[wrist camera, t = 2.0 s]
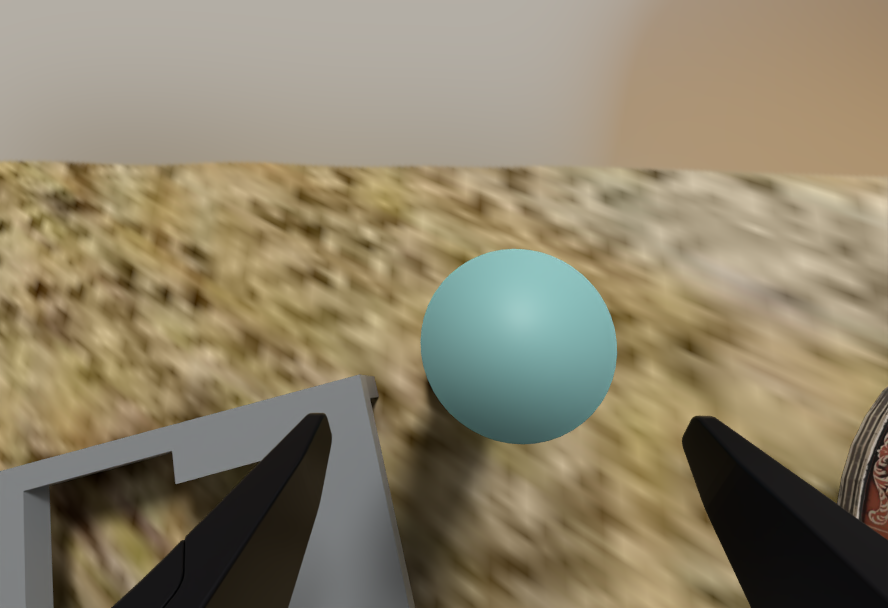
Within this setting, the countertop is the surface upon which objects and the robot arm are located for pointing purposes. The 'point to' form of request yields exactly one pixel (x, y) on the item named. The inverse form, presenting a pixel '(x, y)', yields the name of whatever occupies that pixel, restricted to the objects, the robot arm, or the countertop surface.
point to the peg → (518, 346)
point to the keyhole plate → (226, 447)
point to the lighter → (869, 470)
